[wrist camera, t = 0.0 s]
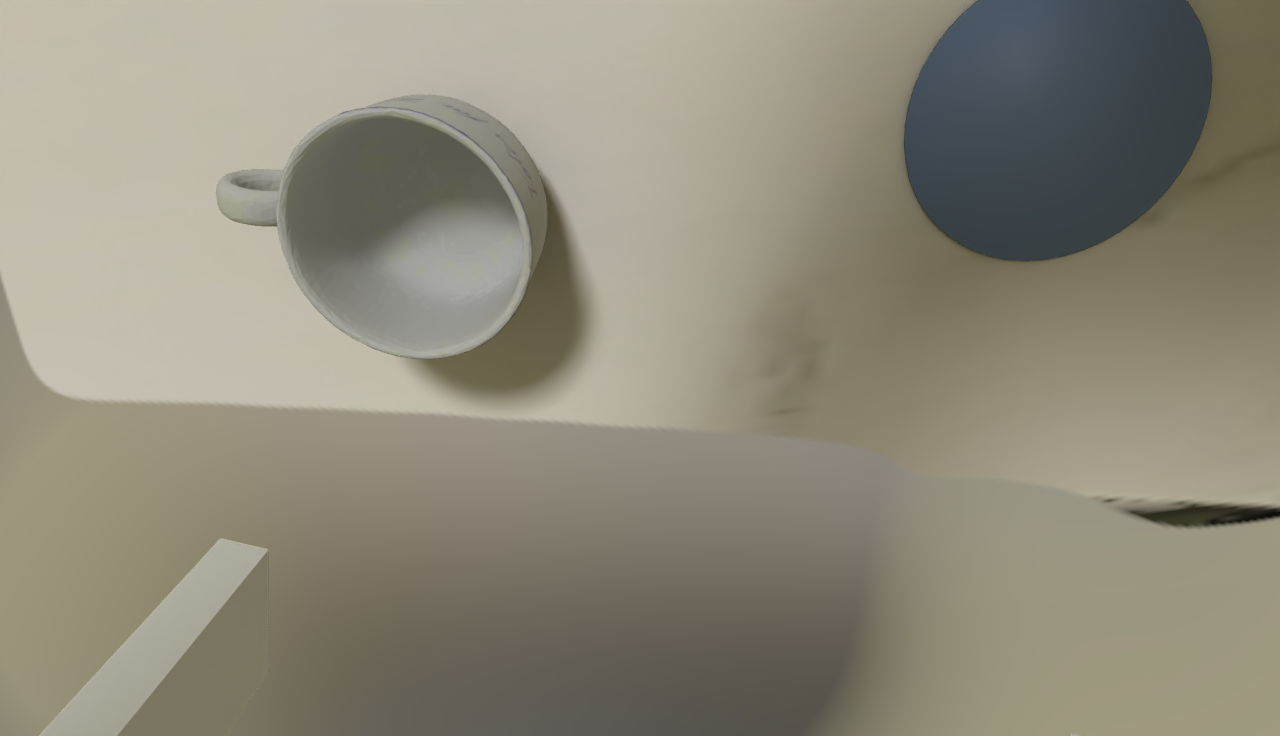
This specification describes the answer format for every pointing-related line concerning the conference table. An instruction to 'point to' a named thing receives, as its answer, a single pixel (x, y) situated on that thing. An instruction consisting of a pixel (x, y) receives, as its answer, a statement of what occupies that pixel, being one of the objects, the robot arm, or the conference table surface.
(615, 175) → the conference table surface
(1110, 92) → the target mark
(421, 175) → the teacup
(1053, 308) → the conference table surface
